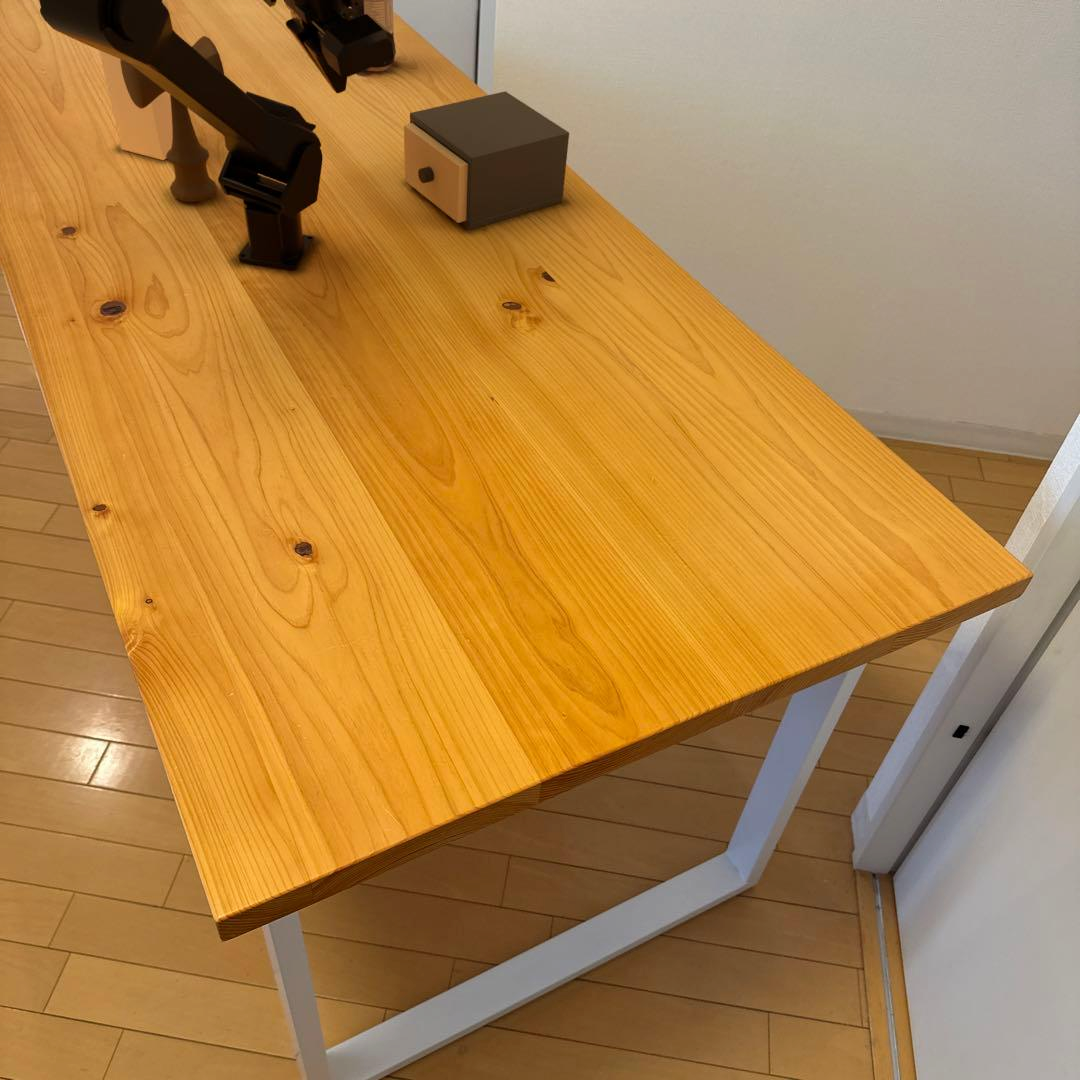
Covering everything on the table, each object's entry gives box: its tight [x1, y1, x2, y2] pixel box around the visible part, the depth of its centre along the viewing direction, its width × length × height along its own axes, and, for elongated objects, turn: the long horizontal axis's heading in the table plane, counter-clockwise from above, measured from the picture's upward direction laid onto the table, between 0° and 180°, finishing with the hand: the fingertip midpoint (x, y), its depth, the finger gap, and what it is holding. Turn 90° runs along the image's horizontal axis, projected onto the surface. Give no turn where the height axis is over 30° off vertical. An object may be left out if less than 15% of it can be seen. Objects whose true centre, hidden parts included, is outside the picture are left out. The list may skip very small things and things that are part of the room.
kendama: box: [120, 35, 225, 203], centre depth 109 cm, size 6×10×20 cm, turn 124°
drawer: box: [403, 122, 468, 224], centre depth 117 cm, size 14×11×7 cm
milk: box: [98, 0, 172, 161], centre depth 115 cm, size 6×6×22 cm
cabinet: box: [409, 91, 570, 231], centre depth 119 cm, size 14×13×9 cm
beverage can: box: [352, 0, 395, 72], centre depth 141 cm, size 6×6×12 cm
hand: (339, 90), depth 107 cm, fingers closed
